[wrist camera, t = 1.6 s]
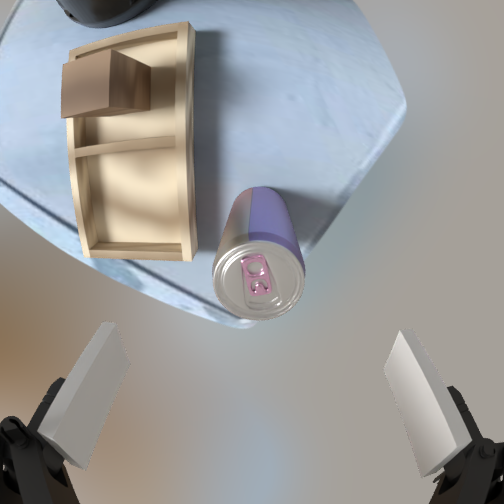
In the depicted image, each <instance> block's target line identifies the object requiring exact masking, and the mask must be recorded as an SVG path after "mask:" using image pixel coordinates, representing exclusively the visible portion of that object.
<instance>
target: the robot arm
mask: <svg viewBox="0 0 504 504" xmlns="http://www.w3.org/2000/svg"><path fill="white" fill-rule="evenodd" d="M56 1H57V2H58V4H59V5H60V6H61V8H62V9H63V10H64V12H65V13H66V15H67V16H68V17H69V18H70V19H71V20H73V21H74V22H76V23H78V24H81V25H83V26H86V27H89V28H105V27H110V26H114V25H117V24H120V23H122V22H125V21H127V20H129V19H131V18H133V17H135V16H137V15H138V14H140V13H141V12H143V11H145V10H146V9H147V8H149V7H150V6H151V5H153V4H154V3H155V2H156V1H157V0H56ZM129 366H130V361H129V359H128V356H127V353H126V350H125V347H124V344H123V341H122V338H121V335H120V332H119V329H118V326H117V324H116V323H112V322H103V323H102V324H101V325H100V327H99V328H98V330H97V331H96V333H95V334H94V336H93V337H92V339H91V340H90V342H89V343H88V345H87V346H86V348H85V350H84V351H83V353H82V354H81V356H80V357H79V359H78V361H77V362H76V364H75V365H74V367H73V369H72V370H71V372H70V374H69V375H68V377H67V378H66V379H63V378H61V377H60V378H59V379H57V381H55V382H54V383H53V384H52V385H51V386H50V388H49V390H48V391H47V394H46V395H45V396H44V398H43V401H42V402H41V403H40V405H39V406H38V408H37V410H36V412H35V414H34V415H33V417H32V419H31V421H30V423H29V424H28V426H27V427H26V426H25V425H24V424H23V423H22V422H21V420H20V419H19V418H17V417H15V416H8V417H6V418H4V419H3V421H2V422H1V423H0V504H80V503H79V501H78V499H77V496H76V494H75V491H74V489H73V486H72V484H71V481H70V478H69V476H68V473H67V470H66V467H65V466H64V464H63V462H64V459H66V460H67V461H68V462H69V463H70V464H71V465H74V466H76V467H78V468H81V469H83V470H86V469H87V467H88V464H89V461H90V458H91V456H92V453H93V451H94V448H95V445H96V443H97V440H98V438H99V435H100V433H101V430H102V428H103V426H104V423H105V420H106V418H107V416H108V414H109V411H110V409H111V406H112V404H113V402H114V399H115V397H116V395H117V393H118V390H119V388H120V386H121V384H122V381H123V379H124V377H125V375H126V373H127V370H128V368H129ZM383 371H384V373H385V376H386V378H387V381H388V383H389V386H390V388H391V391H392V393H393V396H394V399H395V401H396V404H397V407H398V409H399V412H400V415H401V417H402V420H403V423H404V426H405V428H406V432H407V434H408V437H409V440H410V443H411V446H412V449H413V453H414V456H415V458H416V462H417V465H418V469H419V472H420V475H421V478H422V477H425V476H428V475H431V474H433V473H436V472H437V471H438V470H440V469H441V468H442V467H444V470H445V471H444V472H443V473H441V474H440V475H439V476H437V477H436V478H435V479H434V481H433V483H435V482H436V481H438V480H439V479H440V480H439V482H438V483H437V484H438V485H437V487H436V489H435V492H434V494H433V496H432V499H431V500H430V502H429V504H504V442H503V443H494V442H493V441H492V440H491V439H488V438H483V437H482V435H481V433H480V431H479V429H478V427H477V425H476V423H475V421H474V419H473V417H472V415H471V413H470V411H468V407H467V405H466V404H465V401H464V399H463V397H462V395H461V393H460V392H459V391H458V390H457V389H455V388H454V387H453V386H450V387H446V385H445V383H444V382H443V380H442V378H441V376H440V374H439V372H438V371H437V369H436V367H435V366H434V364H433V362H432V360H431V358H430V357H429V355H428V353H427V352H426V350H425V348H424V346H423V345H422V343H421V341H420V340H419V338H418V336H417V335H416V333H415V331H414V330H413V329H404V330H400V331H399V333H398V336H397V339H396V341H395V343H394V346H393V348H392V351H391V353H390V356H389V358H388V360H387V362H386V365H385V367H384V369H383ZM3 465H5V468H4V470H3ZM502 475H503V480H502V481H501V480H500V476H502Z"/></svg>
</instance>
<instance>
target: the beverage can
mask: <svg viewBox="0 0 504 504" xmlns="http://www.w3.org/2000/svg"><path fill="white" fill-rule="evenodd" d="M212 276H213V287H214V291H215V294H216V296H217V298H218V300H219V301H220V303H221V304H222V305H223V306H224V307H225V308H226V309H227V310H229V311H230V312H231V313H233V314H235V315H237V316H239V317H242V318H245V319H249V320H269V319H273V318H276V317H279V316H281V315H283V314H284V313H286V312H288V311H289V310H290V309H291V308H293V307H294V305H295V304H296V303H297V302H298V301H299V299H300V297H301V295H302V292H303V289H304V283H305V265H304V261H303V257H302V254H301V251H300V248H299V244H298V241H297V238H296V235H295V232H294V228H293V225H292V222H291V219H290V216H289V213H288V210H287V207H286V204H285V202H284V200H283V198H282V197H281V196H280V195H279V194H278V193H277V192H275V191H274V190H272V189H269V188H266V187H253V188H249V189H247V190H245V191H243V192H242V193H241V194H240V195H239V196H238V197H237V198H236V199H235V201H234V203H233V206H232V208H231V211H230V214H229V217H228V220H227V223H226V226H225V229H224V232H223V235H222V238H221V241H220V244H219V247H218V250H217V253H216V257H215V260H214V263H213V269H212Z"/></svg>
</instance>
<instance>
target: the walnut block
mask: <svg viewBox="0 0 504 504" xmlns="http://www.w3.org/2000/svg"><path fill="white" fill-rule="evenodd" d="M150 92H151V67H150V66H148V65H146V64H144V63H142V62H140V61H138V60H135V59H133V58H131V57H129V56H127V55H124V54H122V53H120V52H118V51H115V50H113V49H109V50H105V51H102V52H98V53H95V54H92V55H88V56H85V57H82V58H79V59H77V60H74V61H71V62H68V63H66V64H63V70H62V87H61V118H78V117H111V116H117V115H122V114H129V113H135V112H143V111H150Z"/></svg>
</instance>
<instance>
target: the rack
mask: <svg viewBox="0 0 504 504" xmlns="http://www.w3.org/2000/svg"><path fill="white" fill-rule="evenodd" d="M195 34H196V31H195V30H194V28H193V27H192V26H191V24H190V23H189V21H188V22H180V23H173V24H167V25H161V26H155V27H150V28H145V29H141V30H136V31H132V32H128V33H124V34H120V35H116V36H112V37H109V38H106V39H102V40H99V41H96V42H93V43H90V44H87V45H84V46H81V47H78V48H75V49H73V50H70V52H69V62H71V61H74V60H77V59H79V58H82V57H85V56H88V55H92V54H95V53H98V52H102V51H105V50H109V49H113V50H115V51H118V52H120V53H122V54H124V55H127V56H129V57H131V58H133V59H135V60H138V61H140V62H142V63H144V64H146V65H148V66H150V67H151V92H150V111H143V112H135V113H129V114H122V115H117V116H111V117H78V118H67V144H68V158H69V169H70V179H71V187H72V195H73V202H74V208H75V214H76V220H77V226H78V231H79V236H80V241H81V246H82V250H83V254H84V257H88V258H112V259H138V260H166V261H192V260H193V258H194V256H195V254H196V252H197V250H198V241H197V224H196V205H195V180H194V136H193V98H194V56H195Z"/></svg>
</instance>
